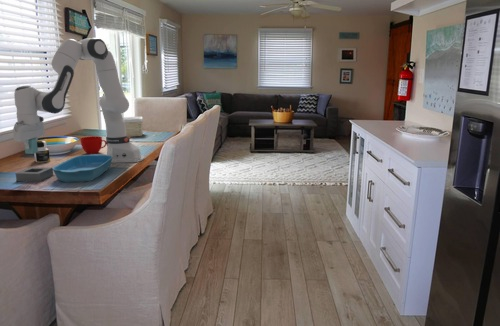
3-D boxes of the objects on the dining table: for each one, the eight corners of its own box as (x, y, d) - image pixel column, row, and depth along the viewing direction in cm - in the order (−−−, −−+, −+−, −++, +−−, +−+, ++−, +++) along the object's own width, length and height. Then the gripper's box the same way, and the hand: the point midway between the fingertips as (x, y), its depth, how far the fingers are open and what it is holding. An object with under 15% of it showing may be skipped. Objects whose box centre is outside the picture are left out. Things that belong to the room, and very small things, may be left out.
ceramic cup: (101, 156, 254) (100, 140, 251) (77, 154, 257) (75, 139, 254) (112, 151, 266) (111, 136, 264) (89, 150, 269) (87, 136, 267)
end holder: (53, 175, 209) (52, 167, 208) (40, 181, 197) (39, 173, 196) (31, 174, 210) (30, 167, 209) (16, 181, 198) (15, 173, 197)
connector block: (38, 152, 202) (36, 138, 200) (33, 153, 198) (31, 139, 197) (30, 152, 202) (28, 138, 201) (25, 153, 198) (23, 139, 197)
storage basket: (112, 138, 318) (110, 119, 314) (114, 134, 333) (112, 117, 330) (143, 136, 323) (142, 118, 320) (144, 133, 338) (142, 116, 335)
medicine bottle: (37, 163, 236) (34, 142, 233) (34, 160, 241) (32, 141, 238) (50, 161, 240) (47, 141, 237) (48, 159, 245) (45, 139, 243)
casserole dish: (92, 184, 192) (91, 170, 191) (46, 184, 193) (44, 170, 191) (118, 166, 228) (117, 153, 226) (79, 166, 228) (78, 154, 227)
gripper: (20, 122, 186) (24, 152, 189) (45, 117, 206) (48, 144, 209) (7, 122, 187) (11, 151, 190) (33, 117, 206) (36, 143, 210)
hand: (31, 147), depth 200 cm, fingers closed on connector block, 4 cm apart
